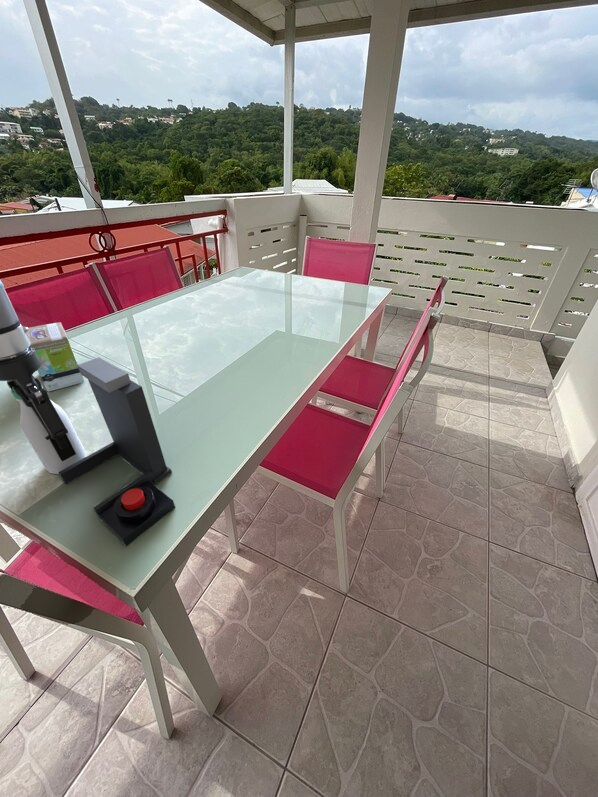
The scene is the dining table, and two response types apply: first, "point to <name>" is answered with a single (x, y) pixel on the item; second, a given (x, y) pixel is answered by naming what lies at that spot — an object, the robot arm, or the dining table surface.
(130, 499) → the stop button
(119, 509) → the switch block
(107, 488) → the dining table surface
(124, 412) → the drink machine
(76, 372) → the tea box
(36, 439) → the milk bottle
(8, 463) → the dining table surface
